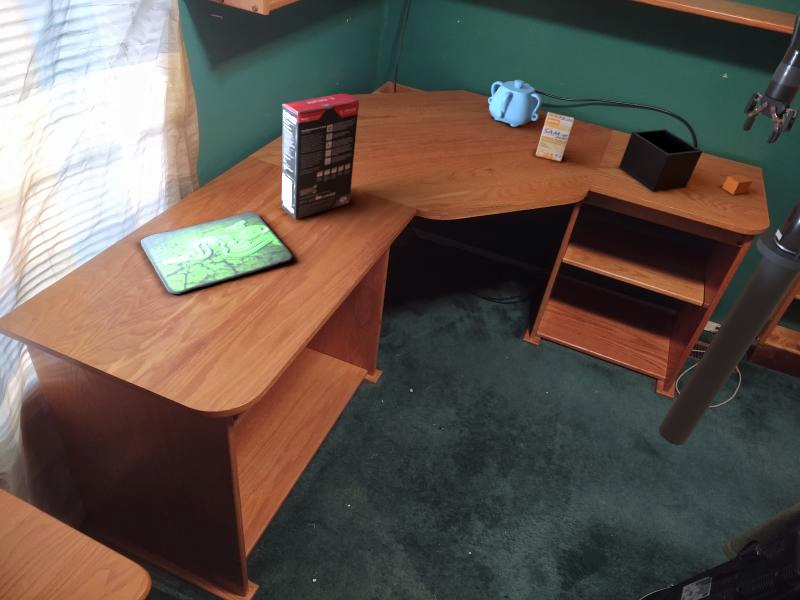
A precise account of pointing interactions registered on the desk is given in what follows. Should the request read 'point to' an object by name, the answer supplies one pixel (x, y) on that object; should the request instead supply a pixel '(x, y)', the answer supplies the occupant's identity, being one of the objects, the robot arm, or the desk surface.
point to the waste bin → (659, 159)
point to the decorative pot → (514, 102)
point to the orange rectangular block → (737, 184)
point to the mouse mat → (213, 251)
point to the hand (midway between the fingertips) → (757, 136)
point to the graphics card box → (318, 153)
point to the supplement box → (554, 136)
